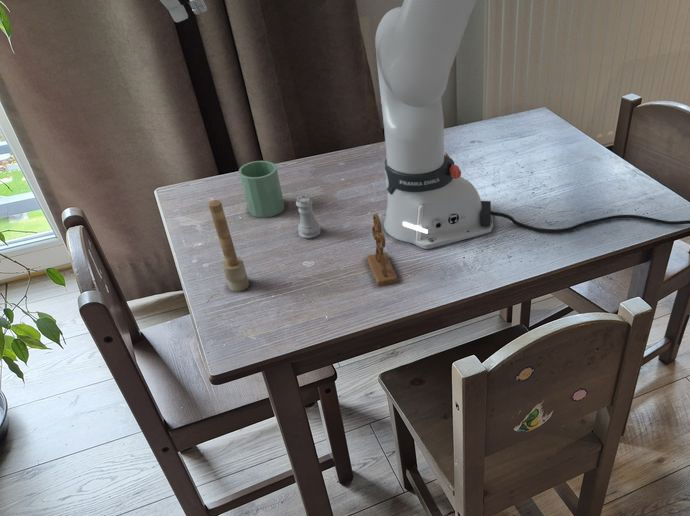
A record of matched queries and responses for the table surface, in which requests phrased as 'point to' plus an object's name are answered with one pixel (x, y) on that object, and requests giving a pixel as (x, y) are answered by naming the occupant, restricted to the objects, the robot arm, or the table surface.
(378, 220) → the wooden figure on stand
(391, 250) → the table surface
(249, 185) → the green pen holder
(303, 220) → the rook chess piece
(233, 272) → the bottle brush
